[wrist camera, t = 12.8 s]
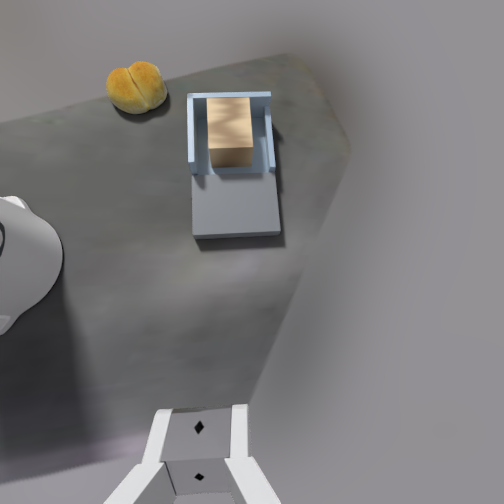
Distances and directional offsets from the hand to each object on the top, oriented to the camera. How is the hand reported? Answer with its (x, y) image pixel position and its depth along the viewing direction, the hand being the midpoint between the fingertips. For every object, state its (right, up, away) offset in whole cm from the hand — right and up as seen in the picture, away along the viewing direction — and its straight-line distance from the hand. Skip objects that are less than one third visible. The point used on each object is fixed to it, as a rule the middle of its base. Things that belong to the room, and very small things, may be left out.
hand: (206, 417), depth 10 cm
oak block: (-1, +19, +32) cm, 38 cm away
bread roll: (-17, +31, +38) cm, 52 cm away
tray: (-2, +22, +36) cm, 42 cm away
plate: (-1, +12, +34) cm, 36 cm away
